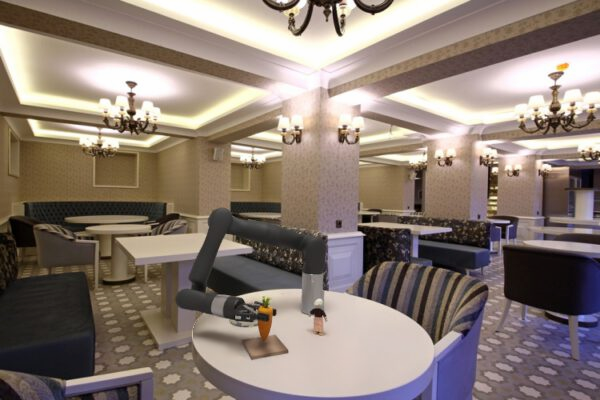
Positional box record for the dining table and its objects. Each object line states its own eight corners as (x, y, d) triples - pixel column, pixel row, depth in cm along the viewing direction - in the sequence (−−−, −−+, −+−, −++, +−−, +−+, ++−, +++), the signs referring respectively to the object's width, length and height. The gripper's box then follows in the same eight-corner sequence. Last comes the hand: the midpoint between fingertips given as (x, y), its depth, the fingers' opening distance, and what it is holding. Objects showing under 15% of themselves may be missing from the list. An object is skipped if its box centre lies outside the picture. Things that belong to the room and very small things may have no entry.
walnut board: (275, 337, 110) (275, 334, 110) (288, 352, 100) (288, 349, 100) (242, 342, 105) (242, 339, 105) (251, 359, 95) (251, 356, 95)
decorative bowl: (261, 330, 117) (269, 315, 132) (261, 320, 117) (269, 306, 132) (222, 327, 119) (235, 313, 134) (223, 318, 119) (235, 304, 134)
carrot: (256, 337, 105) (258, 293, 105) (271, 337, 105) (273, 293, 105) (255, 344, 100) (258, 298, 100) (271, 344, 100) (273, 298, 100)
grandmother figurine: (329, 332, 116) (330, 298, 116) (326, 336, 112) (327, 301, 112) (309, 329, 118) (310, 296, 118) (306, 333, 115) (307, 298, 115)
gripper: (216, 302, 101) (263, 311, 95) (239, 290, 114) (282, 297, 108) (215, 325, 101) (262, 335, 95) (238, 311, 114) (281, 319, 108)
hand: (272, 315), depth 102 cm, fingers closed on carrot, 4 cm apart
